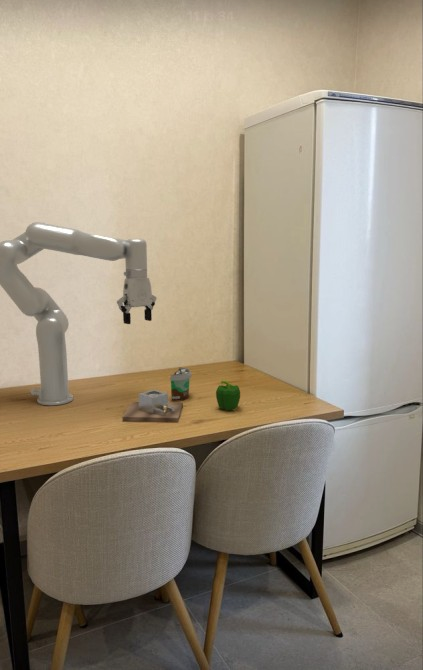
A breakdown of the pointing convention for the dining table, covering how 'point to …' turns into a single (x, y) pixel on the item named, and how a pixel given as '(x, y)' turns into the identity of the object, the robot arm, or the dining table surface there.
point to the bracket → (154, 402)
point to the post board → (141, 416)
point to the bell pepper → (228, 396)
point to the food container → (180, 384)
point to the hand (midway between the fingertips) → (137, 322)
